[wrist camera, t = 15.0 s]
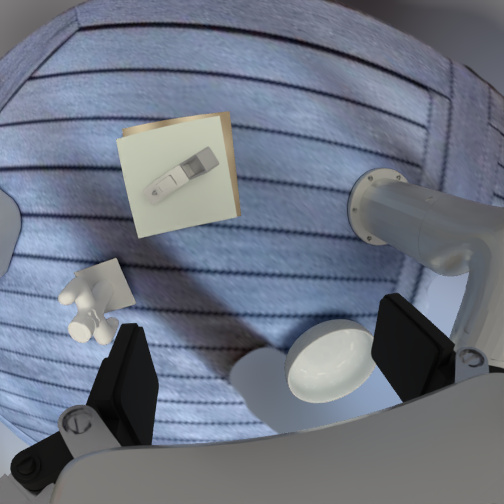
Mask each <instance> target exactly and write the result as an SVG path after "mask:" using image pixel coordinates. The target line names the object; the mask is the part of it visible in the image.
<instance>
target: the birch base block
mask: <svg viewBox="0 0 504 504" xmlns="http://www.w3.org/2000/svg"><path fill="white" fill-rule="evenodd" d="M215 116H220V121H221V126H222V132H223V138H224V144H225V150H226V156H227V161H228V167H229V173H230V179H231V185H232V190H233V196H234V202H235V207H236V213H237V216H241V211H240V202H239V193H238V184H237V175H236V166H235V158H234V149H233V139H232V130H231V121H230V112H220V113H211V114H203V115H196V116H189V117H182V118H176V119H170V120H164V121H159V122H153V123H148V124H143V125H138V126H134V127H129V128H125V129H122V131H123V137H126V136H130V135H133V134H137V133H141V132H145V131H149V130H153V129H157V128H161V127H165V126H170V125H174V124H179V123H183V122H188V121H193V120H198V119H204V118H209V117H215Z"/></svg>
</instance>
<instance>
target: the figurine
mask: <svg viewBox="0 0 504 504" xmlns="http://www.w3.org/2000/svg"><path fill="white" fill-rule="evenodd" d="M74 274H75V276H76V277H75V278H74V279H72V280H71V281H70V282H69V283H68V284H67V285H66V286H65V288H64V289H63V290H62V291H61V293H60V294H59V296H58V300H59V302H60V303H61V304H62V305H69V304H71V303H73V302H74V301H75V303H76V305H77V308H78V312H77V315H76V316H75V317H74V318H73V320H72V321H71V323H70V324H69V326H68V331H69V334H70V335H71V337H72V338H73V339H74V340H76V341H78V342H80V343H85V342H87V341H88V340H89V339H90V338H91V337H92V335H93V336H94V337H95V339H96V341H97V342H98V343H99V344H101V345H107V344H109V343H110V342H111V341H112V339H113V338H114V335H115V333H116V330H117V327H118V324H119V322H118V320H117V319H116V318H113V317H111V318H108V319H105V317H104V313H107V312H110V311H114V310H117V309H121V308H124V307H127V306H131V305H134V304H137V303H136V301H135V299H134V297H133V295H132V292H131V290H130V288H129V286H128V284H127V281H126V279H125V277H124V275H123V272H122V270H121V268H120V265H119V263H118V260H117V258H114V259H112V260H109V261H106V262H103V263H100V264H97V265H94V266H91V267H89V268H86V269H83V270H80V271H77V272H74Z"/></svg>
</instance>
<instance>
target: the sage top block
mask: <svg viewBox="0 0 504 504" xmlns="http://www.w3.org/2000/svg"><path fill="white" fill-rule="evenodd" d="M116 141H117V147H118V152H119V157H120V162H121V167H122V172H123V177H124V181H125V186H126V190H127V194H128V199H129V203H130V207H131V211H132V215H133V219H134V223H135V227H136V231H137V234H138V238H142V237H147V236H151V235H155V234H160V233H164V232H169V231H173V230H178V229H183V228H187V227H192V226H197V225H201V224H206V223H211V222H216V221H221V220H225V219H230V218H235V217H237V213H236V207H235V202H234V196H233V190H232V185H231V179H230V173H229V167H228V161H227V156H226V150H225V144H224V138H223V132H222V126H221V121H220V116H215V117H209V118H204V119H198V120H193V121H188V122H183V123H179V124H174V125H170V126H165V127H161V128H157V129H153V130H149V131H145V132H141V133H137V134H133V135H130V136H126V137H122V138H119V139H116ZM206 147H210V149H211V150H212V152H213V153H214V155H215V156H216V158H217V160H218V161H219V165H218V166H216V167H215V168H213V169H212V170H210V171H209V172H207V173H206V174H203V175H201V176H198V177H196V178H194V179H192V180H188V182H186V183H185V184H183V185H182V186H180V187H179V188H177V189H176V190H174V191H173V192H171V193H170V194H168V195H167V196H166V197H164V198H163V199H161V200H160V201H158V202H157V203H155V204H154V205H153V204H151V203H150V202H149V200H148V199H147V197H146V196H145V194H144V193H143V189H144V188H146V187H147V186H148V185H150V184H151V183H152V182H154V181H155V180H157V179H158V178H159V177H161V176H162V175H164V174H165V173H167V172H168V171H170V170H171V169H173V168H174V167H176V166H177V165H179V164H180V163H182V162H184V161H185V160H187V159H188V158H190V157H191V156H193V155H195V154H196V153H198V152H199V151H201V150H203V149H204V148H206Z"/></svg>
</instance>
